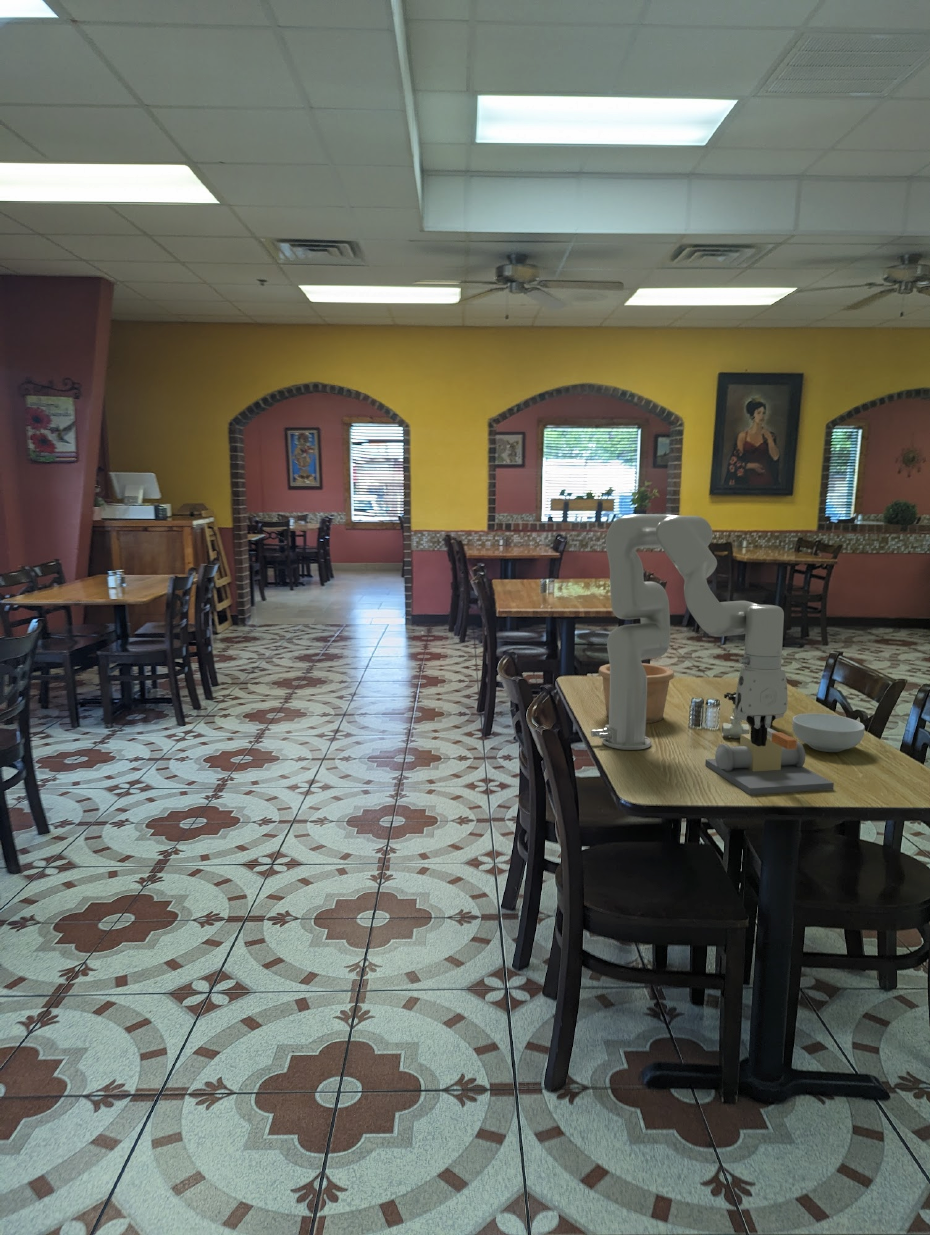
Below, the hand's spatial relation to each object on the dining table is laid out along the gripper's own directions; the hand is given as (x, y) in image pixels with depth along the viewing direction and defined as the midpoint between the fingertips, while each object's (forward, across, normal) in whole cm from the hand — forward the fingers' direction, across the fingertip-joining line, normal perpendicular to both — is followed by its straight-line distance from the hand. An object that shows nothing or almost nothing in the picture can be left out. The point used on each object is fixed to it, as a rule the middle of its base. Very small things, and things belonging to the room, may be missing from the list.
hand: (758, 744), depth 168 cm
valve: (+10, +16, +37) cm, 41 cm away
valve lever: (+1, +7, +4) cm, 8 cm away
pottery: (+10, -2, +63) cm, 63 cm away
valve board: (+10, +7, +7) cm, 14 cm away
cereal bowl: (+10, +34, +25) cm, 44 cm away
